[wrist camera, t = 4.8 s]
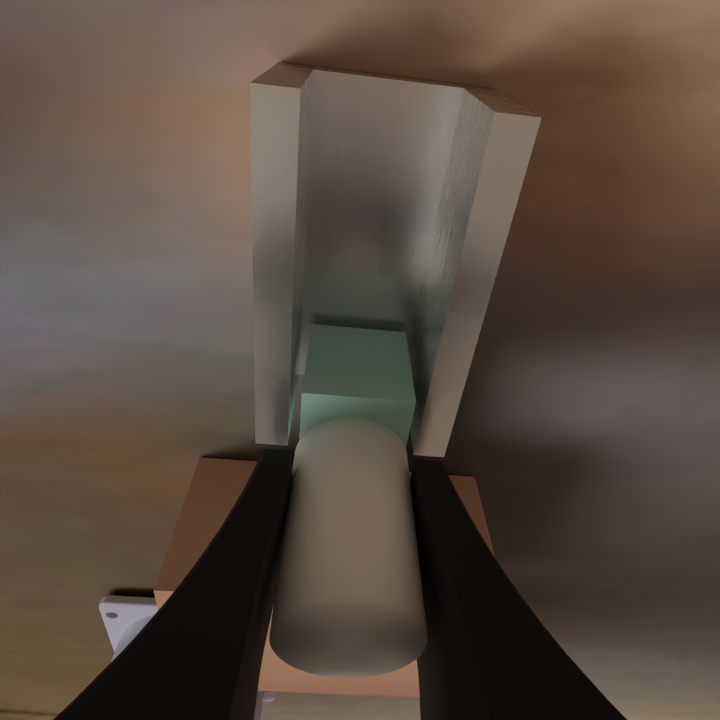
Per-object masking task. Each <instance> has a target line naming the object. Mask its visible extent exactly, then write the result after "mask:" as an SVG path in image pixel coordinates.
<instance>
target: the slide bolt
mask: <svg viewBox="0 0 720 720" xmlns="http://www.w3.org/2000/svg"><path fill="white" fill-rule="evenodd" d="M415 405H416V398H415V391H414V385H413V378H412V371H411V365H410V358H409V351H408V345H407V338H406V332H396V331H385V330H373V329H362V328H351V327H340V326H329V325H318V324H311V331H310V338H309V345H308V352H307V360H306V367H305V374H304V381H303V388H302V398H301V417H300V435H299V442H298V444H297V446H296V449H295V454H294V462H293V469H292V476H291V483H290V491H289V498H288V505H287V512H286V520H285V527H284V534H283V541H282V548H281V556H280V563H279V570H278V577H277V585H276V592H275V599H274V606H273V614H272V621H271V628H270V635H269V642H270V646H271V648H272V650H273V651H274V653H275V654H276V655H277V656H278V657H279V658H280V659H281V660H282V661H284V662H285V663H287V664H289V665H290V666H292V667H294V668H296V669H299V670H302V671H304V672H307V673H311V674H315V675H320V676H325V677H333V678H363V677H372V676H377V675H382V674H386V673H389V672H393V671H396V670H398V669H400V668H403V667H405V666H407V665H408V664H410V663H412V662H413V661H414V660H416V659H417V658H418V657H419V656H420V655H421V654H422V653H423V651H424V650H425V648H426V645H427V641H428V636H427V627H426V618H425V609H424V600H423V591H422V583H421V574H420V565H419V556H418V547H417V538H416V530H415V521H414V512H413V503H412V494H411V485H410V476H409V468H408V459H407V452H406V445H407V441H408V436H409V432H410V427H411V423H412V418H413V414H414V409H415Z"/></svg>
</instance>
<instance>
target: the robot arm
mask: <svg viewBox="0 0 720 720" xmlns="http://www.w3.org/2000/svg"><path fill="white" fill-rule="evenodd" d="M291 473H292V451H285V450H271V449H265V450H264V451H262V452H261V453H260V456H259V458H258V461H257V463H256V465H255V468H254V470H253V472H252V474H251V476H250V478H249V480H248V482H247V484H246V486H245V487H244V489H243V491H242V493H241V495H240V496H239V498H238V500H237V501H236V503H235V505H234V506H233V508H232V510H231V511H230V513H229V515H228V516H227V518H226V520H225V521H224V523H223V524H222V526H221V527H220V529H219V531H218V532H217V533H216V535H215V536H214V538H213V539H212V541H211V542H210V544H209V545H208V546H207V548H206V549H205V551H204V552H203V554H202V555H201V557H200V558H199V559H198V561H197V562H196V564H195V565H194V566H193V568H192V569H191V570H190V572H189V573H188V574H187V576H186V577H185V578H184V579H183V581H182V582H181V583H180V585H179V586H178V587H177V588H176V590H175V591H174V592H173V593H172V595H171V596H170V597H169V598H168V600H167V601H166V602H165V603H164V604H163V606H162V607H161V608H160V609H159V610H158V608H157V604H156V599H155V598H152V597H133V596H114V595H110V596H105V597H103V598H102V600H101V602H100V604H99V610H100V612H101V615H102V618H103V621H104V624H105V627H106V630H107V632H108V635H109V638H110V641H111V644H112V647H113V650H114V652H115V653H114V655H113V658H112V661H111V663H110V664H109V665H108V666H107V667H106V668H105V669H104V670H103V671H102V672H101V673H100V674H99V675H98V676H97V677H96V678H95V679H94V680H93V682H92V683H91V684H90V685H89V686H88V687H87V688H86V689H85V690H84V691H83V692H82V693H81V694H80V695H79V696H78V697H77V698H76V699H75V700H74V701H73V702H72V703H70V704H69V705H68V706H67V707H66V708H65V709H64V710H63V711H62V712H61V713H60V714H59V715H58V716H57V717H56V718H54V719H53V720H260V717H261V710H262V702H263V701H273V700H274V699H275V698H276V693H277V692H273V691H258V684H259V677H260V670H261V664H262V658H263V653H264V647H265V643H266V638H267V634H268V629H269V624H270V620H271V615H272V610H273V606H274V599H275V592H276V585H277V577H278V570H279V563H280V556H281V548H282V541H283V534H284V527H285V520H286V512H287V505H288V498H289V491H290V483H291ZM410 485H411V494H412V503H413V512H414V521H415V530H416V538H417V547H418V556H419V565H420V574H421V583H422V591H423V600H424V609H425V618H426V627H427V636H428V641H427V645H426V648H425V650H424V651H423V653H422V654H421V655H420V656H419V657H418V658H417V667H418V677H419V693H420V712H421V720H627V719H626V718H625V717H624V716H623V715H622V714H621V713H620V712H619V711H618V710H617V709H616V708H615V707H614V706H613V705H612V704H611V703H610V702H609V701H608V700H607V699H606V698H605V696H604V695H603V694H602V693H601V692H600V691H599V690H598V689H597V687H596V686H595V685H594V684H593V683H592V682H591V681H590V680H589V678H588V677H587V676H586V675H585V674H584V673H583V672H582V671H581V670H580V668H579V667H578V666H577V665H576V664H575V663H574V662H573V661H572V659H571V658H570V657H569V656H568V655H567V654H566V653H565V652H564V650H563V649H562V648H561V647H560V645H559V644H558V643H557V642H556V641H555V639H554V638H553V637H552V636H551V634H550V633H549V632H548V631H547V629H546V628H545V627H544V626H543V624H542V623H541V622H540V621H539V619H538V618H537V617H536V615H535V614H534V613H533V611H532V610H531V609H530V608H529V606H528V605H527V604H526V602H525V601H524V599H523V598H522V597H521V595H520V594H519V592H518V591H517V590H516V588H515V587H514V585H513V584H512V583H511V581H510V580H509V578H508V577H507V575H506V574H505V572H504V571H503V569H502V568H501V566H500V565H499V563H498V562H497V560H496V558H495V557H494V555H493V554H492V552H491V551H490V549H489V547H488V546H487V544H486V542H485V541H484V539H483V537H482V536H481V534H480V532H479V531H478V529H477V527H476V526H475V524H474V522H473V521H472V519H471V517H470V515H469V513H468V512H467V510H466V508H465V506H464V504H463V502H462V501H461V499H460V497H459V495H458V493H457V491H456V489H455V487H454V485H453V483H452V481H451V479H450V477H449V475H448V473H447V471H446V469H445V467H444V465H443V464H442V463H441V462H439V461H425V460H415V461H414V465H413V469H412V473H411V478H410Z"/></svg>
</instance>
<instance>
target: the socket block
mask: <svg viewBox="0 0 720 720" xmlns="http://www.w3.org/2000/svg"><path fill="white" fill-rule="evenodd" d="M256 463H257V461H244V460H230V459H216V458H202V457H200V458H199V461H198V464H197V467H196V470H195V473H194V475H193V478H192V481H191V484H190V487H189V490H188V493H187V496H186V498H185V501H184V504H183V507H182V510H181V513H180V516H179V519H178V521H177V524H176V527H175V530H174V533H173V536H172V539H171V542H170V544H169V547H168V550H167V553H166V556H165V559H164V562H163V565H162V567H161V570H160V573H159V576H158V579H157V582H156V585H155V588H154V595H155V599H156V604H157V608H158V610H159V609H160V608H161V607H162V606H163V604H164V603H165V602H166V601H167V600H168V598H169V597H170V596H171V595H172V593H173V592H174V591H175V590H176V588H177V587H178V586H179V585H180V583H181V582H182V581H183V579H184V578H185V577H186V576H187V574H188V573H189V572H190V570H191V569H192V568H193V566H194V565H195V564H196V562H197V561H198V559H199V558H200V557H201V555H202V554H203V552H204V551H205V549H206V548H207V546H208V545H209V544H210V542H211V541H212V539H213V538H214V536H215V535H216V533H217V532H218V531H219V529H220V527H221V526H222V524H223V523H224V521H225V520H226V518H227V516H228V515H229V513H230V511H231V510H232V508H233V506H234V505H235V503H236V501H237V500H238V498H239V496H240V495H241V493H242V491H243V489H244V487H245V486H246V484H247V482H248V480H249V478H250V476H251V474H252V472H253V470H254V468H255V465H256ZM292 469H293V464H292ZM411 473H412V472H409V476H410V478H411ZM291 476H292V473H291ZM449 477H450V479H451V481H452V483H453V485H454V487H455V489H456V491H457V493H458V495H459V497H460V499H461V501H462V502H463V504H464V506H465V508H466V510H467V512H468V513H469V515H470V517H471V519H472V521H473V522H474V524H475V526H476V527H477V529H478V531H479V532H480V534H481V536H482V537H483V539H484V541H485V542H486V544H487V546H488V547H489V549H490V551H491V552H492V554H493V555H494V551H493V547H492V543H491V539H490V535H489V531H488V527H487V523H486V519H485V515H484V511H483V507H482V504H481V500H480V496H479V492H478V488H477V484H476V480H475V477H470V476H456V475H449ZM494 557H495V555H494ZM272 614H273V610H272ZM271 621H272V615H271V620H270V624H269V629H268V634H267V638H266V643H265V647H264V653H263V658H262V664H261V670H260V677H259V684H258V691H273V692H297V693H322V694H346V695H371V696H395V697H420V693H419V677H418V667H417V659H416V660H414V661H413V662H412V663H410V664H408V665H407V666H405V667H403V668H400V669H398V670H396V671H393V672H389V673H386V674H382V675H377V676H372V677H363V678H333V677H325V676H320V675H315V674H311V673H307V672H304V671H302V670H299V669H296V668H294V667H292V666H290V665H289V664H287V663H285V662H284V661H282V660H281V659H280V658H279V657H278V656H277V655H276V654H275V653H274V651H273V650H272V648H271V646H270V642H269V635H270V628H271Z"/></svg>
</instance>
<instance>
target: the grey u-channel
mask: <svg viewBox="0 0 720 720" xmlns="http://www.w3.org/2000/svg"><path fill="white" fill-rule="evenodd" d="M250 102H251V170H252V239H253V307H254V375H255V443H257V444H271V445H285V446H288V440H289V434H290V427H291V421H292V414H293V408H294V402H295V395H296V389H297V382H298V376H299V374H300V375H304V374H305V367H306V360H307V352H308V345H309V338H310V331H311V324H318V325H329V326H340V327H351V328H362V329H373V330H385V331H396V332H406V338H407V345H408V351H409V358H410V365H411V371H412V378H413V385H414V391H415V398H416V405H415V409H414V414H413V418H412V423H411V427H410V433H411V440H412V448H413V455H421V456H435V457H444V456H445V452H446V449H447V445H448V442H449V438H450V435H451V432H452V428H453V425H454V421H455V418H456V414H457V411H458V407H459V404H460V400H461V397H462V393H463V390H464V386H465V383H466V379H467V376H468V372H469V369H470V365H471V362H472V358H473V355H474V351H475V348H476V345H477V341H478V338H479V334H480V331H481V327H482V324H483V320H484V317H485V313H486V310H487V306H488V303H489V299H490V296H491V292H492V289H493V285H494V282H495V278H496V275H497V271H498V268H499V264H500V261H501V258H502V254H503V251H504V247H505V244H506V240H507V237H508V233H509V230H510V226H511V223H512V219H513V216H514V212H515V209H516V205H517V202H518V198H519V195H520V191H521V188H522V184H523V181H524V177H525V174H526V171H527V167H528V164H529V160H530V157H531V153H532V150H533V146H534V143H535V139H536V136H537V132H538V129H539V125H540V122H541V117H540V116H538V115H536V114H535V113H533V112H531V111H530V110H528V109H526V108H525V107H523V106H521V105H520V104H518V103H516V102H515V101H513V100H511V99H510V98H508V97H506V96H505V95H503V94H501V93H500V92H498V91H496V90H495V89H491V88H483V87H475V86H467V85H459V84H451V83H443V82H435V81H426V80H418V79H410V78H402V77H394V76H386V75H378V74H370V73H362V72H353V71H345V70H337V69H329V68H321V67H313V66H305V65H297V64H289V63H281V62H278V63H277V64H276V65H274V66H273V67H271V68H270V69H269V70H267V71H266V72H264V73H263V74H262V75H260V76H259V77H257V78H256V79H255V80H253V81H252V82H250Z"/></svg>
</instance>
